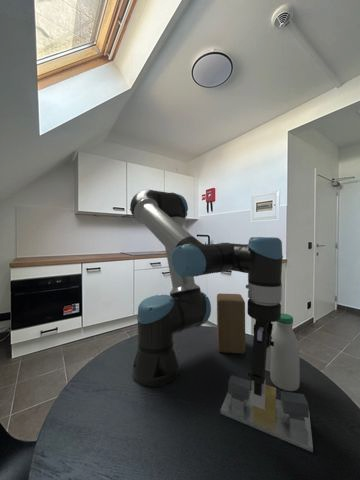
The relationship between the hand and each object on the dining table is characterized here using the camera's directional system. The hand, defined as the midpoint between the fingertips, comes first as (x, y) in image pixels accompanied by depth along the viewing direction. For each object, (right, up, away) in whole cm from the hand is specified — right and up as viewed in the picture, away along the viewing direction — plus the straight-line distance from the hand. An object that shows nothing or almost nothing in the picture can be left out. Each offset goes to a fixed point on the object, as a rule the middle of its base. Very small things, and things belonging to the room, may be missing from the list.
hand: (261, 385), depth 50 cm
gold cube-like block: (0, -6, -1) cm, 6 cm away
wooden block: (0, -7, +30) cm, 31 cm away
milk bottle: (+11, -7, +10) cm, 16 cm away
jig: (0, -7, -1) cm, 7 cm away
